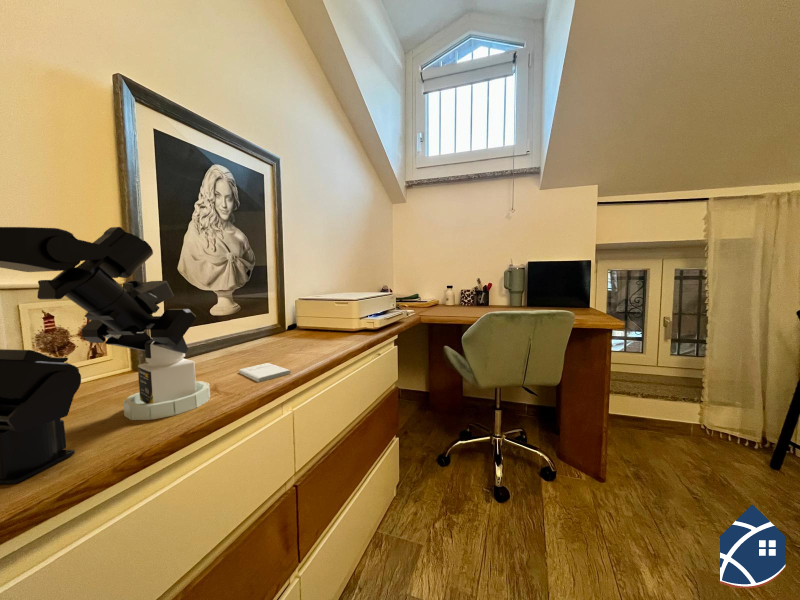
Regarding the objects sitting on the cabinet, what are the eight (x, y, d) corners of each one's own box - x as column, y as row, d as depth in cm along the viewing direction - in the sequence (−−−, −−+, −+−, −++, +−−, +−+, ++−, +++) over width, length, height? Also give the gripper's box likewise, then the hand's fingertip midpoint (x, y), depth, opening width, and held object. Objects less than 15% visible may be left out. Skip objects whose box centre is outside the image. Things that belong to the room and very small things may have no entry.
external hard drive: (258, 384, 71) (238, 375, 79) (291, 375, 77) (269, 367, 85) (258, 378, 71) (238, 368, 79) (290, 369, 77) (269, 362, 85)
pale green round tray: (176, 419, 52) (175, 405, 52) (105, 420, 52) (103, 406, 52) (223, 391, 65) (222, 380, 65) (165, 392, 65) (164, 381, 65)
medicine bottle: (139, 401, 58) (135, 339, 57) (182, 389, 63) (179, 333, 63) (152, 409, 53) (147, 342, 53) (197, 396, 59) (193, 336, 59)
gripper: (183, 262, 52) (233, 319, 63) (96, 266, 55) (158, 319, 66) (139, 312, 44) (204, 365, 56) (42, 313, 48) (122, 363, 59)
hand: (172, 351), depth 59 cm, fingers closed on medicine bottle, 6 cm apart
